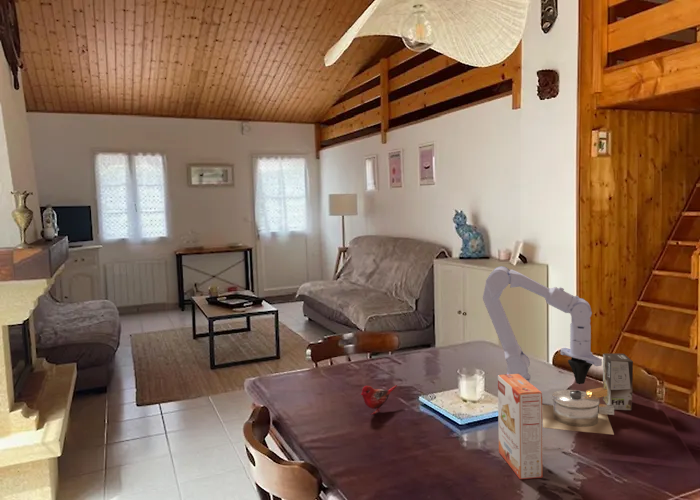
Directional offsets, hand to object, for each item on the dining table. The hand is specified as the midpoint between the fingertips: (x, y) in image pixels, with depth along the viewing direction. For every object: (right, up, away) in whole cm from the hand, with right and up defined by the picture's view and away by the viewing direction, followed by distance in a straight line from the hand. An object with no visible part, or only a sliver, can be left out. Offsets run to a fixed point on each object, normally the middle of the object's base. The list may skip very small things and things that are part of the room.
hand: (580, 383), depth 166 cm
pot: (-3, -8, -9) cm, 12 cm away
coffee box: (+12, -8, +2) cm, 15 cm away
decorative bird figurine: (-61, -10, +4) cm, 62 cm away
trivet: (-5, -9, -8) cm, 13 cm away
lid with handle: (-3, -3, -8) cm, 9 cm away
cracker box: (-29, -12, -33) cm, 45 cm away
